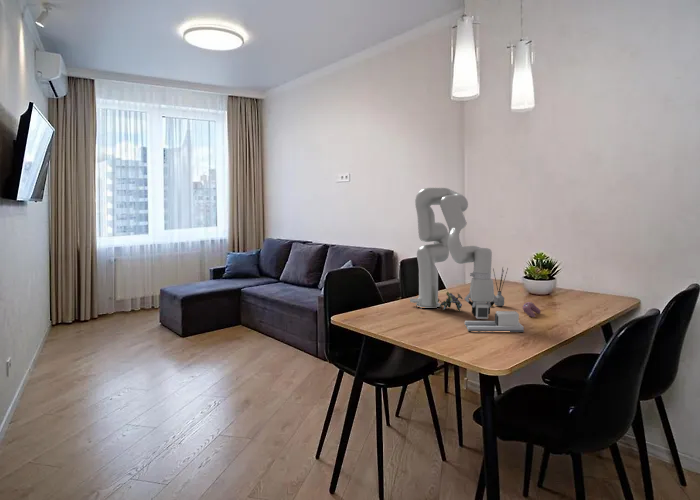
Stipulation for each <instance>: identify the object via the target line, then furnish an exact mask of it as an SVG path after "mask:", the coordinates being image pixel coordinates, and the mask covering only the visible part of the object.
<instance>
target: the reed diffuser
mask: <svg viewBox="0 0 700 500" xmlns="http://www.w3.org/2000/svg"><path fill="white" fill-rule="evenodd" d="M508 270H509V268H507V269H506V272H505V276H504V271H505V270H504V267H502V269H501V277H500V283H499V287H498V283H497V279H496V274H495V269H494V268H493V267H492V271H493V276H494V279H495V285H496V289H497V294H496V295H495V296H496V297H497V299H498V301H497V302H496V303H494V304H493V305H492V306H491V308H493V307H494V306H497V307H502V306H505V297H504V296H503V295H502V290H503V287H504V283H505V280H506V277H507V274H508ZM503 277H504V278H503ZM502 281H503V282H502Z"/></svg>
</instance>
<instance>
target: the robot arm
mask: <svg viewBox="0 0 700 500" xmlns="http://www.w3.org/2000/svg"><path fill="white" fill-rule="evenodd" d="M414 200H415V201H414V203H415V208H416V210H415V211H416V216H417V230H418V238H419V241H422V242H423V243H431V242H433V243H431V244H424V245H421V246H419V248H418V249H417V251H416V259H417V264H418V265H417V266H418V296H417V297H416V298H409V302H410V303H412V304H413V303H415V306H416V305H417V306H420V307H425V308H437V307H439V306H440V305H441V303H440V302H438V298H439V271H438V267H437V266H436V263H444V262H445V261H447V260H448V258H449V255H450V256H451V258H452V259H453V261H454V262H455V263H456V264H460V265H461V264H468V263H469V264H470V263H473V270H472V271H473V272H470V274H469V276H470V277H472V278H471V281H470V284H469V285H470V286H469V293H468V294H467V295H466V296H465V297H464V301H466V302H467V303H468V304H469V306H471V314H472V315H473V317H475V316H476V307H475V305H476V302H486V303H487V304H488V306H489V309H488V317H489V316H490V314H491V308H492V305H493V306H494V305H495V303H496V302H497V301H498V299H497V297H496V296H497V295H495V288H494V280H493V278H492V260H493V259H492V257H493V256H492V255H493V254H492V253H493V252H492V249H491V248H487V247H479V246H477V245H467V246H463V245H462V243H461V239H460V233H461V231H462V230H463V229H464V228H465V227H466V226H467V224H468V223H467V220H466V218H465V215H464V212H465V211H467V209H468V208H469V202H468V199H467V198H466V196H465V195H463V194H461V193H459V192H456V191H455V190H452V189H450V188H447V187H427V188H425V187H424V188H423V189H421V190H419V191H418V192H417V194H416V196H415V199H414ZM431 206H440V209H441V212H442V214H443V217H444V220H445V222H446V225H447V226H446V225H445V224H444V223H443V222H437V221H436V219H435V212H434V209H433V208H432V207H431ZM437 309H438V308H437Z"/></svg>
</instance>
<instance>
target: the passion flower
mask: <svg viewBox="0 0 700 500" xmlns="http://www.w3.org/2000/svg"><path fill="white" fill-rule="evenodd" d="M456 294H457V297H456V296H455V295H454V294H453V293H452V292H449V291H447V292H446V296H447V297H446V299H445V300H443V301H442V300H440V298H439V297H438V303H440V302H441V303H440V304H441V305H440V306H439V307H440V308H441V307H443V310H446V309H448V307H450V308H451V307H452V304H455V307H456V309H457V311H458V310H459V311H458V312H461V311H460V310H461V308H462V306H463V304H462V303H461V301H460V300H459V299H461V300H464V298H463V296H462V295H461V294H459V292H458V293H456Z"/></svg>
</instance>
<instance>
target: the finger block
mask: <svg viewBox="0 0 700 500" xmlns="http://www.w3.org/2000/svg"><path fill="white" fill-rule="evenodd" d="M475 307H476V316H474V317H475V318H476V320H480V319H481V320H488V319H489V316H488V309H489V306H488V304H487V303H486V302H476V305H475Z"/></svg>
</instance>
